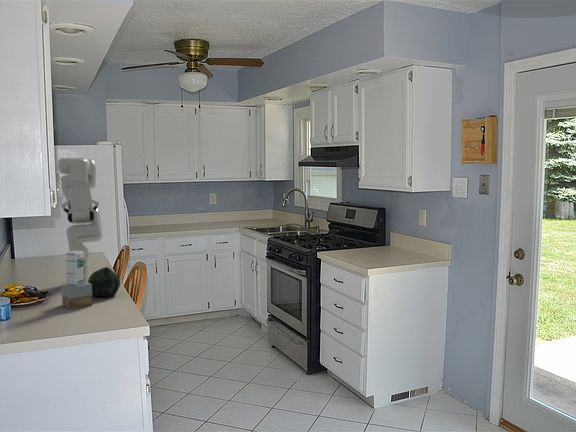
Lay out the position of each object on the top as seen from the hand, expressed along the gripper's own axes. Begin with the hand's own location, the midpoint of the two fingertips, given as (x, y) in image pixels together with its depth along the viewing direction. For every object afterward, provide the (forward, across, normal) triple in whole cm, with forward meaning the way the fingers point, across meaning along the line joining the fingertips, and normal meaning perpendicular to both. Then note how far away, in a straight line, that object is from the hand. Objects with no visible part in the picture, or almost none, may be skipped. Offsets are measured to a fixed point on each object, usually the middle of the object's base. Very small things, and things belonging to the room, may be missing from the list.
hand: (81, 221), depth 251 cm
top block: (+31, +8, +16) cm, 36 cm away
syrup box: (+26, +9, +16) cm, 32 cm away
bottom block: (+36, +8, +16) cm, 40 cm away
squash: (+36, -7, +7) cm, 38 cm away
